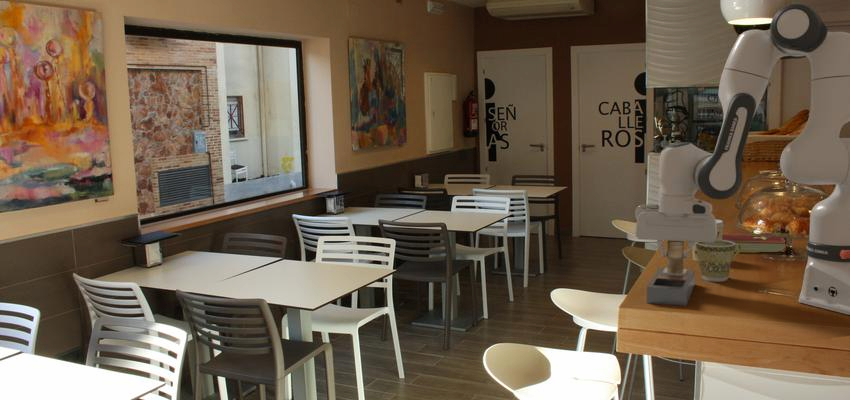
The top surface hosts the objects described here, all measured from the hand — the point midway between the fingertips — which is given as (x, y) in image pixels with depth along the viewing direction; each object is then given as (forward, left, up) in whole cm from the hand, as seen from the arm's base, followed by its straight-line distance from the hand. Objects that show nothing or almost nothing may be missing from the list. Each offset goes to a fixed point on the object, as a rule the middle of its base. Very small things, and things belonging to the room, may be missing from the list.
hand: (675, 257), depth 201 cm
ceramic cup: (+4, -16, -8) cm, 19 cm away
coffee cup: (+25, -27, -8) cm, 38 cm away
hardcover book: (+33, -49, -9) cm, 60 cm away
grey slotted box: (-5, +5, -8) cm, 11 cm away
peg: (0, 0, -4) cm, 4 cm away
